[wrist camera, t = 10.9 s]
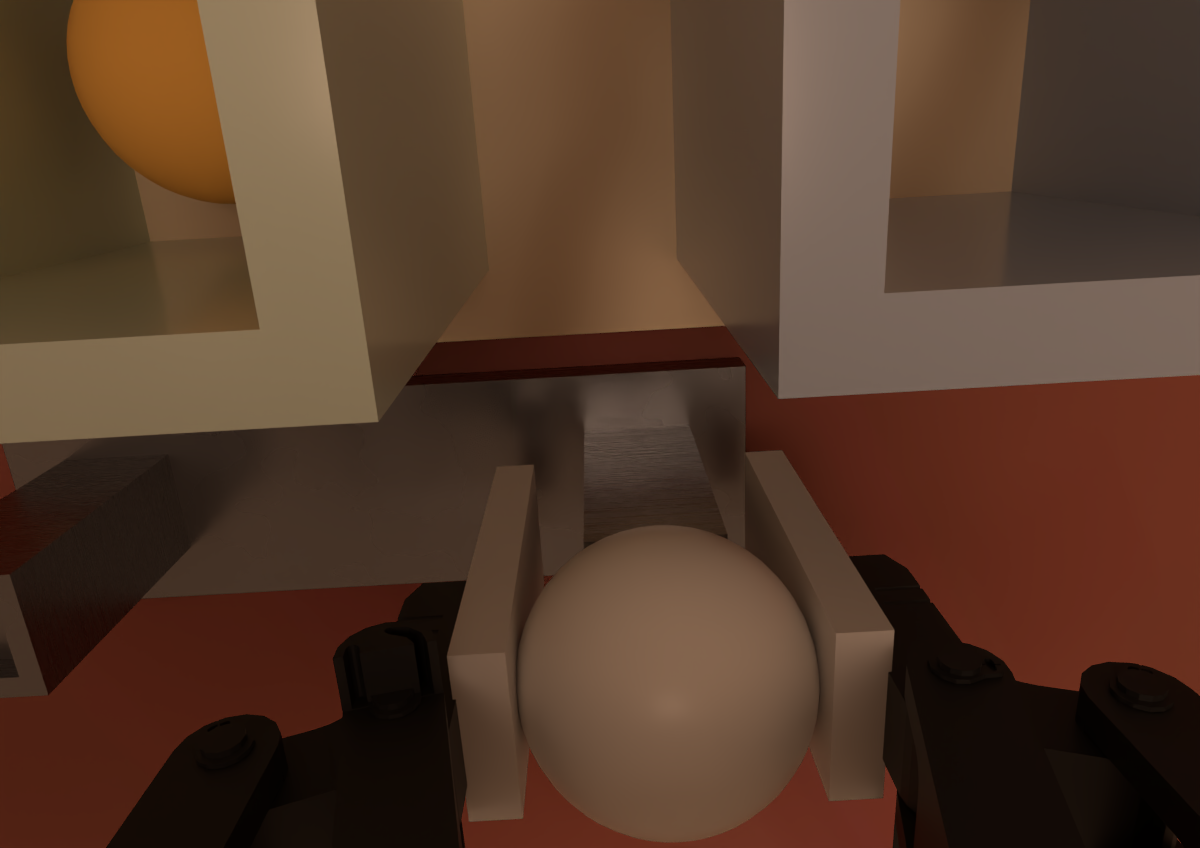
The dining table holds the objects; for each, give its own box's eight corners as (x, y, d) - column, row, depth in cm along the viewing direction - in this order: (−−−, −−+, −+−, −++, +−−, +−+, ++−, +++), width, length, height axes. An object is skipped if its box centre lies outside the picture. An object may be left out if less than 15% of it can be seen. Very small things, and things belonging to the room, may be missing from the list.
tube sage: (114, 291, 18) (-418, 467, 8) (7, -146, 15) (-938, -605, 6) (489, 269, 18) (378, 421, 8) (445, -172, 15) (213, -676, 6)
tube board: (24, 356, 19) (-12, 370, 18) (-140, -213, 16) (-197, -240, 15) (1153, 291, 19) (1189, 301, 18) (1247, -297, 16) (1299, -331, 14)
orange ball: (180, 201, 17) (45, 222, 13) (130, -38, 16) (-39, -100, 12) (392, 189, 17) (323, 206, 13) (360, -53, 16) (271, -121, 12)
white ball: (536, 711, 15) (518, 929, 11) (514, 487, 14) (484, 640, 10) (779, 697, 15) (853, 910, 11) (783, 471, 14) (869, 618, 10)
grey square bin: (676, 259, 18) (778, 398, 8) (665, -185, 15) (793, -713, 6) (1052, 237, 18) (1584, 352, 8) (1107, -212, 15) (1965, -787, 6)
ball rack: (70, 586, 21) (-136, 766, 15) (14, 399, 20) (-241, 516, 14) (739, 549, 21) (800, 714, 15) (739, 357, 20) (807, 456, 14)
